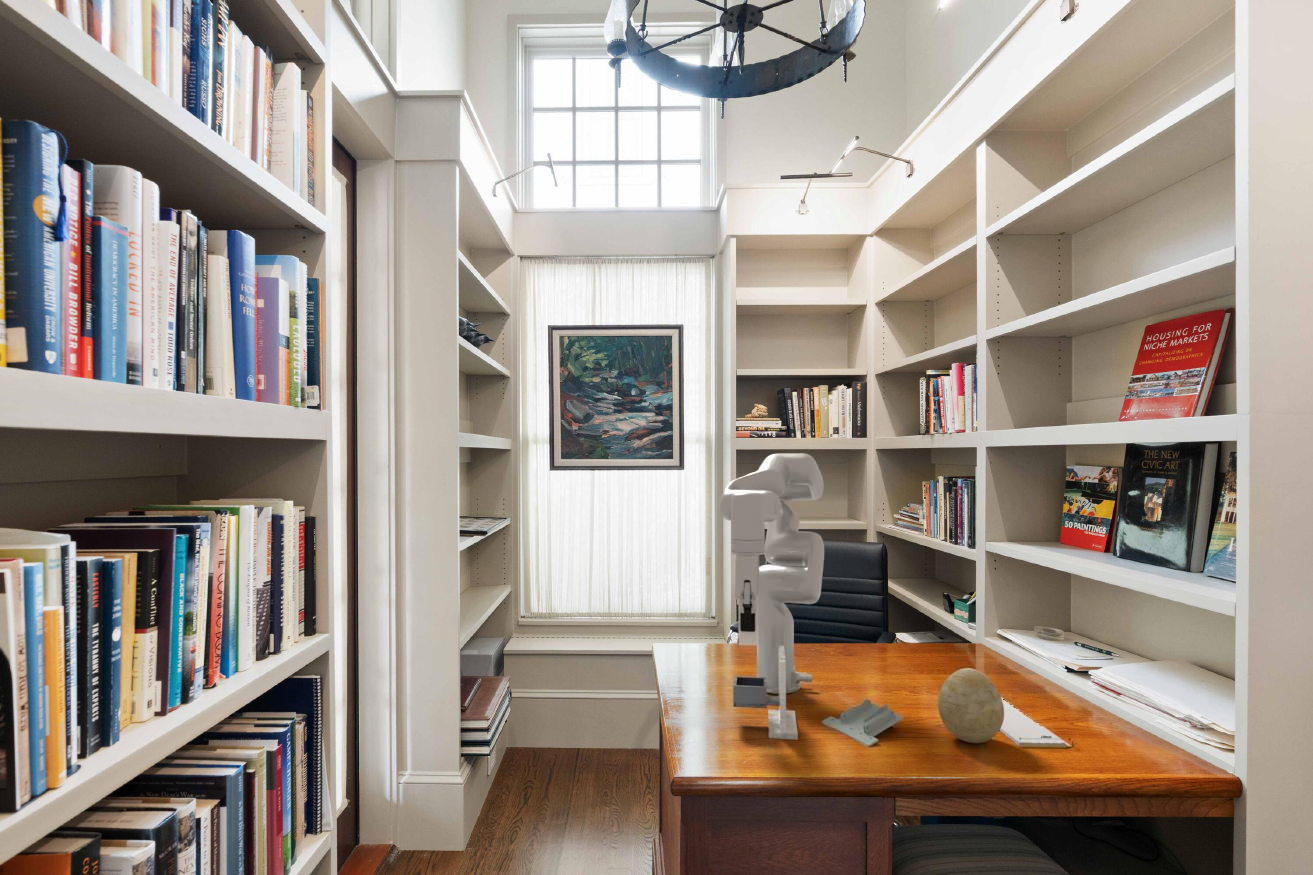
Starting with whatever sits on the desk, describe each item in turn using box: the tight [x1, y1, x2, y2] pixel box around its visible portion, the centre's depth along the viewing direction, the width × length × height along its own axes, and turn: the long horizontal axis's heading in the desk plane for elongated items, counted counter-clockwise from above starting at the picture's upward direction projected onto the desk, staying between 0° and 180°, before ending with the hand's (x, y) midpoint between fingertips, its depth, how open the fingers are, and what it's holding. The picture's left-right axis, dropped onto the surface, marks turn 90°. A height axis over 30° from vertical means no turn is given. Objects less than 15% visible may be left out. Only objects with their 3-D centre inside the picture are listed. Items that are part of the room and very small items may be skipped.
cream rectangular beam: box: [737, 596, 757, 647], centre depth 157 cm, size 4×4×11 cm
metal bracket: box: [821, 698, 904, 747], centre depth 153 cm, size 14×6×15 cm
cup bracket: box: [732, 645, 799, 740], centre depth 155 cm, size 14×14×16 cm
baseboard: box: [999, 696, 1078, 748], centre depth 159 cm, size 31×3×12 cm
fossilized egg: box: [937, 667, 1004, 744], centre depth 147 cm, size 13×13×15 cm
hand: (748, 627), depth 156 cm, fingers closed on cream rectangular beam, 4 cm apart
